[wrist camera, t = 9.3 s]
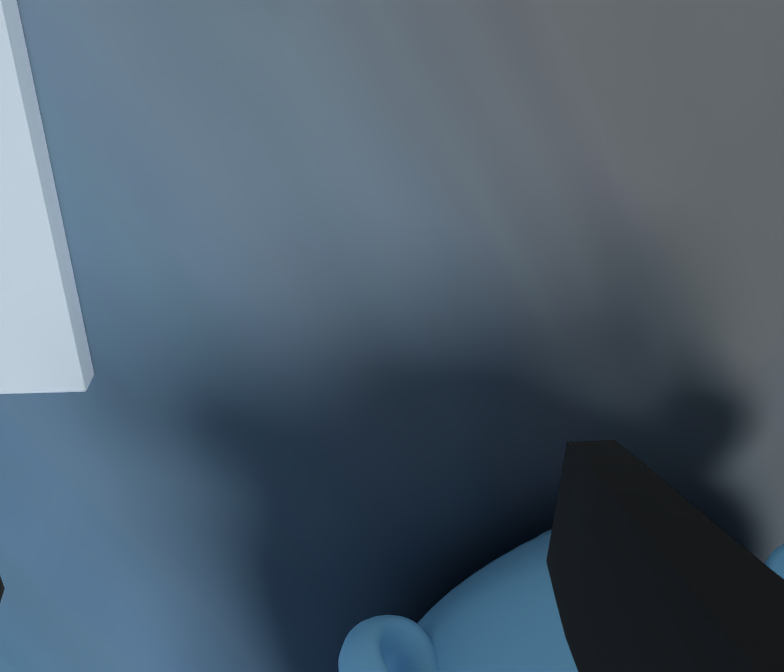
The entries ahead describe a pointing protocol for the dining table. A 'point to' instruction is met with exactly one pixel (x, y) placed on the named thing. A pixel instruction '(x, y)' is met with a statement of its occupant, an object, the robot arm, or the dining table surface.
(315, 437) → the dining table surface
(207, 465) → the dining table surface
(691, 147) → the dining table surface
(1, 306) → the duct plate
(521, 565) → the decorative pot
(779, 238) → the dining table surface
